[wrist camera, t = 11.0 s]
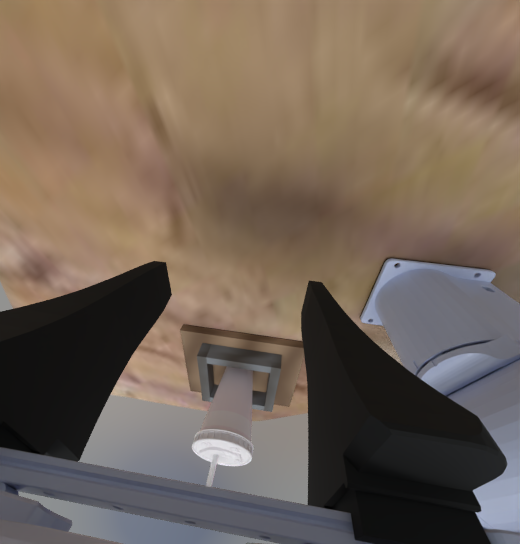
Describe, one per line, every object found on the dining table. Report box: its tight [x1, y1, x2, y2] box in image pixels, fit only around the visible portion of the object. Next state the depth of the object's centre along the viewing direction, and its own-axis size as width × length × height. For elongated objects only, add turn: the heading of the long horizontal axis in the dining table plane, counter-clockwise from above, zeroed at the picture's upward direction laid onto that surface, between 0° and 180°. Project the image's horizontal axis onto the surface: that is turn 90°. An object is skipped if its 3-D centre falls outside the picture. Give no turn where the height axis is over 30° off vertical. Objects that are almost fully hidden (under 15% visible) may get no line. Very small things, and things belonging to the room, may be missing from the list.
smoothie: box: [192, 367, 254, 487], centre depth 24 cm, size 6×6×14 cm
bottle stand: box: [180, 325, 304, 412], centre depth 30 cm, size 16×14×3 cm
